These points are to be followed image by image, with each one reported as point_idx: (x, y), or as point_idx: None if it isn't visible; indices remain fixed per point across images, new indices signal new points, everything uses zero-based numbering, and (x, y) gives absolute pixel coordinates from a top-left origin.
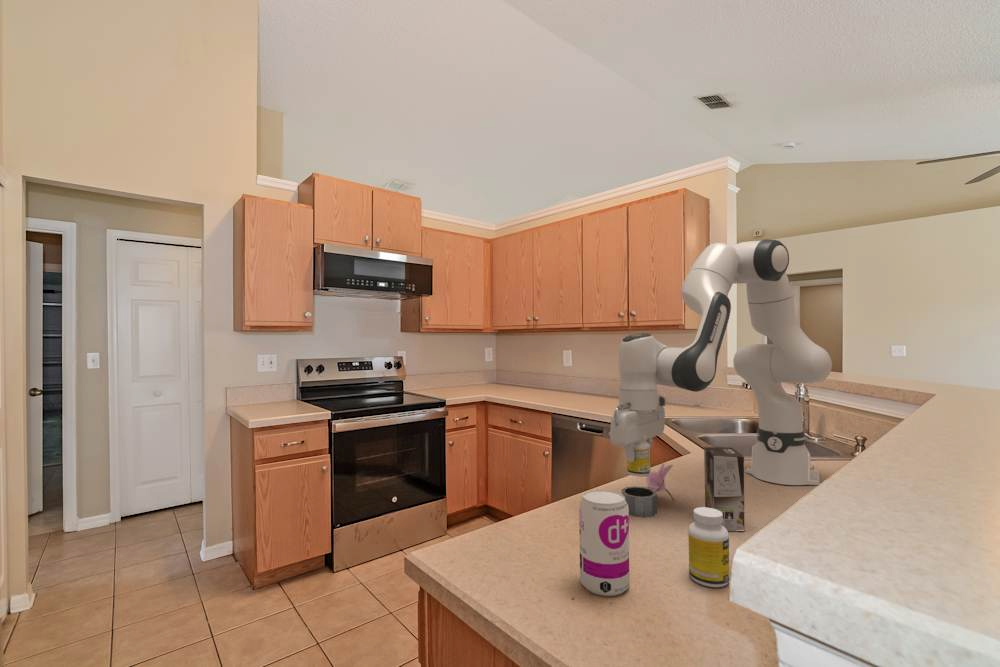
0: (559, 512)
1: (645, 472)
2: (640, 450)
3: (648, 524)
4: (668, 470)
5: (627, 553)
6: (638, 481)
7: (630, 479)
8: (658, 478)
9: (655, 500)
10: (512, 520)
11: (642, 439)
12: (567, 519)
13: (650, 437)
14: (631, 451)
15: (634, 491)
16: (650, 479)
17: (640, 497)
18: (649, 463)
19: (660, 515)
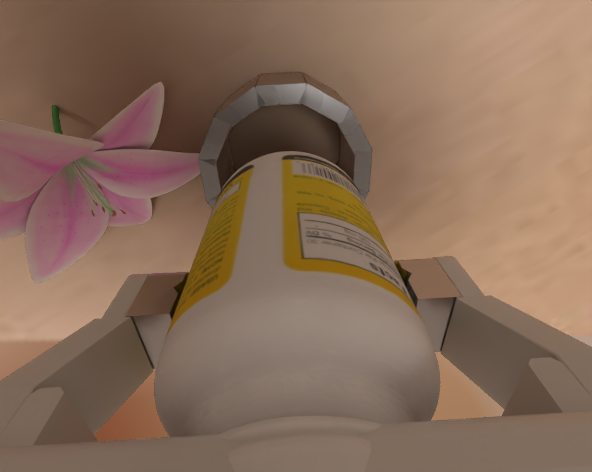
0: None
1: (325, 165)
2: (407, 299)
3: (397, 34)
4: (16, 136)
5: None
6: (25, 309)
7: (38, 333)
8: (49, 205)
9: (274, 80)
10: (577, 334)
11: (400, 443)
12: (505, 259)
13: (66, 450)
14: (540, 328)
15: None
16: (74, 238)
17: (357, 126)
18: (274, 184)
19: (265, 52)
